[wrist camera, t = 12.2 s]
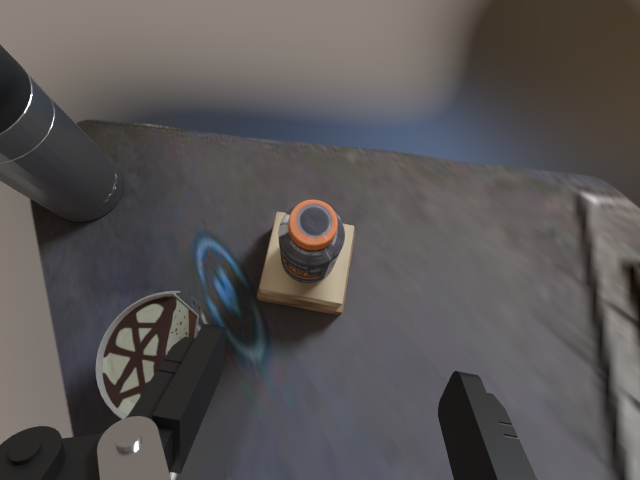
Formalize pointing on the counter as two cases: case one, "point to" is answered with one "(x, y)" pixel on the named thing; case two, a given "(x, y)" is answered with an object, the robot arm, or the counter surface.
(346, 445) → the counter surface
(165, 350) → the food container
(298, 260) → the pill bottle
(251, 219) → the counter surface
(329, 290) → the tower base
